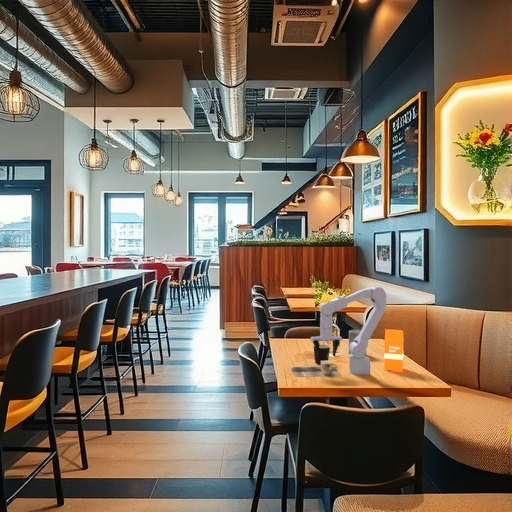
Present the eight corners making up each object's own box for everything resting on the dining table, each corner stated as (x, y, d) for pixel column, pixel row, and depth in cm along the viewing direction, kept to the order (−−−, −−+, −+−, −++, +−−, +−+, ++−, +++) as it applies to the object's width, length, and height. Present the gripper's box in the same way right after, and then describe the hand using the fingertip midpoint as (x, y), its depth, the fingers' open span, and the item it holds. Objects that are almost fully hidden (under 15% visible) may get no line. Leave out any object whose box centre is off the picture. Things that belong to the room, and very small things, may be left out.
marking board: (335, 372, 224) (335, 365, 224) (341, 379, 212) (341, 372, 212) (291, 373, 222) (291, 366, 222) (295, 380, 210) (295, 372, 210)
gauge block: (328, 370, 221) (328, 360, 221) (332, 375, 213) (332, 364, 213) (320, 370, 221) (320, 360, 221) (324, 375, 213) (324, 364, 213)
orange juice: (402, 371, 225) (402, 331, 225) (384, 370, 228) (384, 330, 228) (403, 368, 233) (403, 329, 232) (385, 366, 236) (385, 328, 235)
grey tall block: (360, 352, 269) (359, 326, 269) (369, 355, 260) (369, 329, 259) (345, 353, 266) (345, 328, 266) (354, 357, 256) (354, 330, 256)
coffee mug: (320, 362, 244) (320, 343, 244) (333, 365, 238) (333, 346, 238) (306, 366, 236) (306, 347, 236) (319, 369, 230) (319, 349, 229)
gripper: (338, 326, 222) (338, 354, 223) (309, 326, 221) (309, 354, 221) (342, 328, 215) (342, 357, 216) (312, 329, 214) (312, 357, 214)
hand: (326, 356), depth 218 cm, fingers open, 7 cm apart
